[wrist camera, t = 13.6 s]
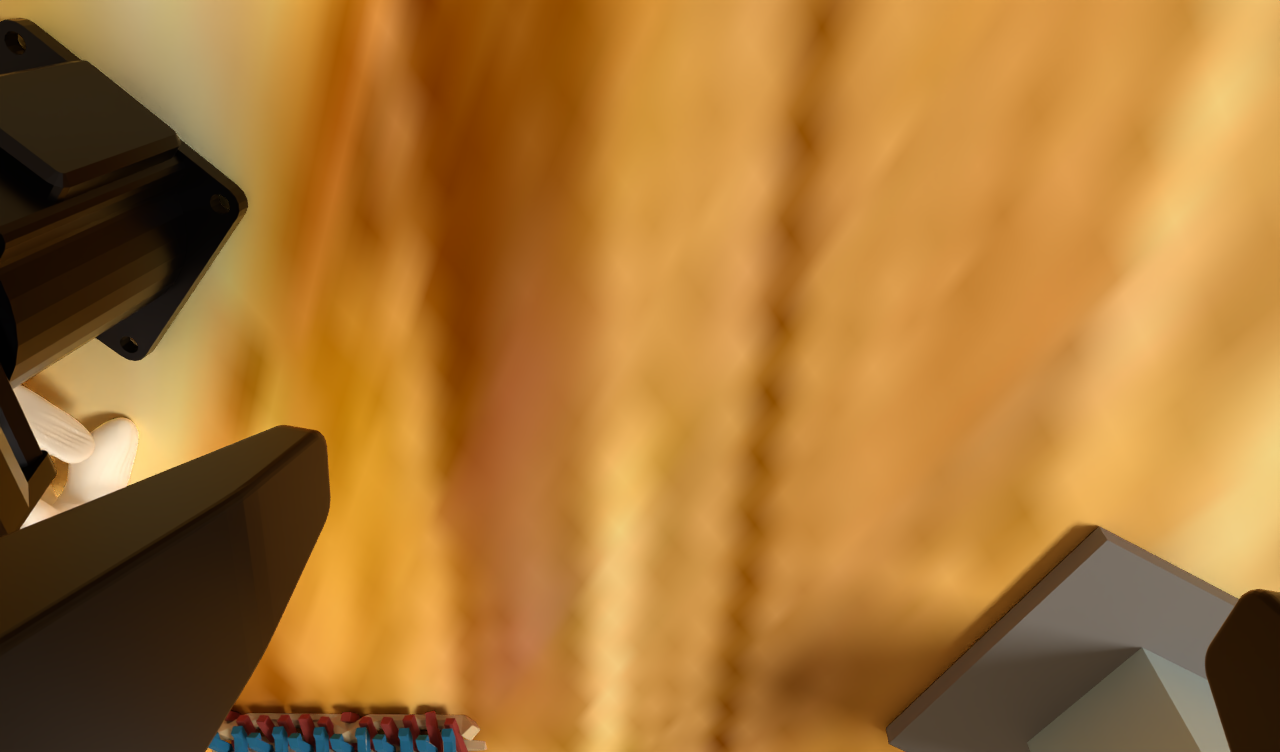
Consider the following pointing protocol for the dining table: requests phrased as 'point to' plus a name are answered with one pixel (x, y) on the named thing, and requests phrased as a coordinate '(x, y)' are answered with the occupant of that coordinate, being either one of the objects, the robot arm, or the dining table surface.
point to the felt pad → (1064, 647)
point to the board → (1139, 713)
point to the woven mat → (346, 733)
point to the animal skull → (78, 454)
